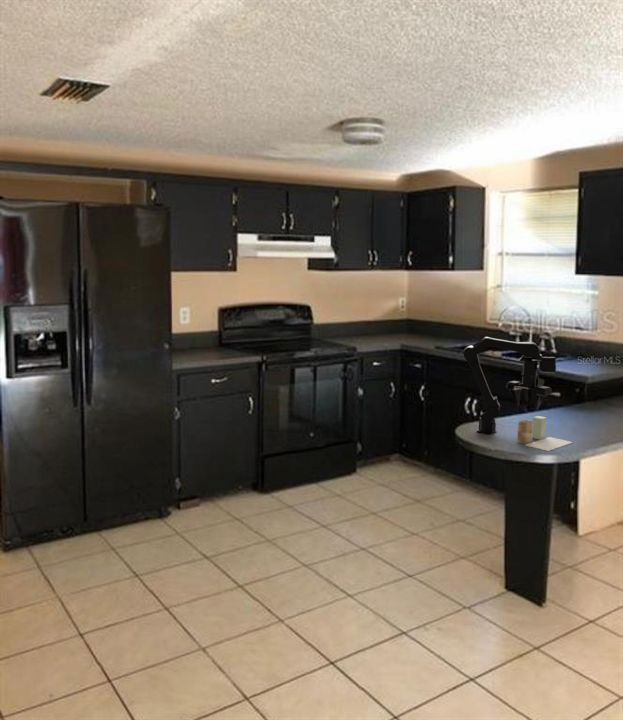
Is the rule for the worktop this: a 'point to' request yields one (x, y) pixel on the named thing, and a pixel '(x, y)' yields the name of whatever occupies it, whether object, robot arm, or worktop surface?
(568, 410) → the worktop surface
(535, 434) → the sage block
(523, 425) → the oak block
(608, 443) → the worktop surface
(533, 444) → the mat
